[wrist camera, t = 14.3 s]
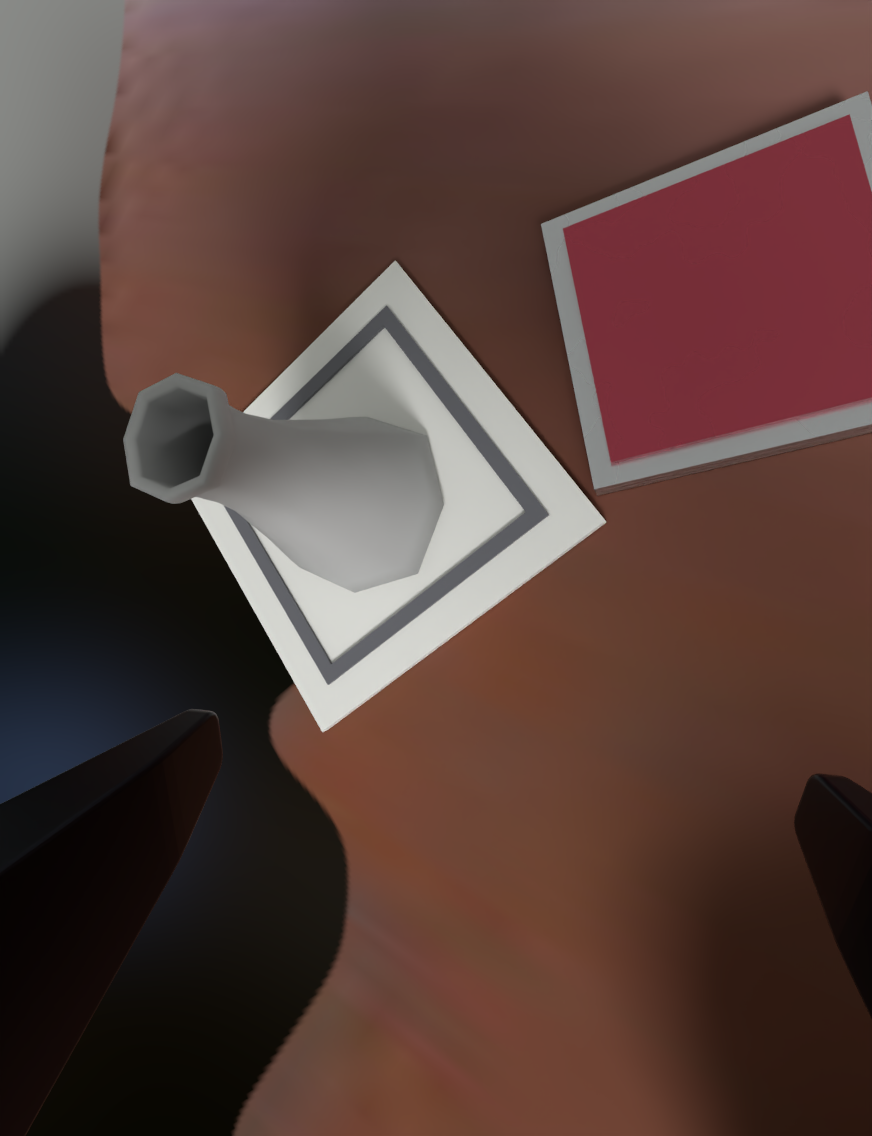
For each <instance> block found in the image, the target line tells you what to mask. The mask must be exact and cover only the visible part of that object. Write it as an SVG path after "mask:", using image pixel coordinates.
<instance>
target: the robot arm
mask: <svg viewBox="0 0 872 1136" xmlns="http://www.w3.org/2000/svg"><path fill="white" fill-rule="evenodd" d="M222 756H223V754H222V744H221V737H220V728H219V721H218V717H217V715H216V714H215V713H214V712H212V711H204V710H195V709H191V710H188V711H185V712H183V713H181V714H179V715H177V716H175V717H173V718H171V719H169V720H167V721H165V722H163V723H161V724H159V725H157V726H155V727H153V728H151V729H149V730H147V731H145V732H143V733H141V734H139V735H137V736H135V737H133V738H131V739H129V740H127V741H125V742H123V743H122V744H119V745H117V746H116V747H113V748H111V749H109V750H107V751H106V752H103V753H102V754H99V755H97V756H95V757H93V758H91V759H89V760H87V761H85V762H83V763H81V764H79V765H78V766H75V767H73V768H72V769H69V770H68V771H65V772H63V773H61V774H59V775H57V776H56V777H53V778H51V779H50V780H47V781H45V782H43V783H42V784H40V785H38V786H36V787H34V788H32V789H30V790H28V791H26V792H24V793H22V794H20V795H18V796H16V797H14V798H12V799H10V800H8V801H6V802H4V803H2V804H0V1136H25V1135H26V1133H27V1132H28V1130H29V1128H30V1126H31V1124H32V1123H33V1121H34V1119H35V1117H36V1115H37V1114H38V1112H39V1110H40V1108H41V1107H42V1105H43V1103H44V1101H45V1100H46V1098H47V1096H48V1094H49V1092H50V1091H51V1089H52V1087H53V1085H54V1083H55V1082H56V1080H57V1078H58V1076H59V1075H60V1073H61V1071H62V1069H63V1067H64V1066H65V1064H66V1062H67V1060H68V1059H69V1057H70V1055H71V1053H72V1051H73V1050H74V1048H75V1046H76V1044H77V1043H78V1041H79V1039H80V1037H81V1035H82V1033H83V1032H84V1030H85V1028H86V1027H87V1025H88V1023H89V1021H90V1019H91V1017H92V1016H93V1014H94V1012H95V1011H96V1009H97V1007H98V1005H99V1003H100V1002H101V1000H102V998H103V996H104V994H105V993H106V991H107V989H108V987H109V985H110V984H111V982H112V980H113V978H114V977H115V975H116V973H117V971H118V970H119V968H120V966H121V964H122V962H123V961H124V959H125V957H126V955H127V953H128V952H129V950H130V948H131V946H132V944H133V943H134V941H135V939H136V937H137V935H138V934H139V932H140V930H141V929H142V927H143V925H144V923H145V921H146V920H147V918H148V916H149V914H150V912H151V911H152V909H153V907H154V905H155V904H156V902H157V900H158V898H159V897H160V895H161V893H162V891H163V889H164V888H165V886H166V884H167V882H168V881H169V879H170V877H171V875H172V873H173V871H174V870H175V867H176V866H177V864H178V862H179V860H180V858H181V856H182V854H183V852H184V850H185V847H186V845H187V843H188V841H189V839H190V836H191V834H192V831H193V829H194V827H195V825H196V822H197V820H198V818H199V815H200V813H201V811H202V809H203V806H204V804H205V802H206V800H207V797H208V795H209V793H210V790H211V788H212V786H213V784H214V781H215V779H216V777H217V774H218V772H219V770H220V767H221V763H222ZM794 824H795V831H796V835H797V838H798V841H799V843H800V846H801V849H802V852H803V854H804V857H805V860H806V863H807V865H808V868H809V871H810V874H811V876H812V879H813V882H814V885H815V887H816V890H817V893H818V896H819V898H820V901H821V904H822V907H823V909H824V912H825V915H826V918H827V921H828V923H829V926H830V928H831V931H832V933H833V936H834V938H835V941H836V943H837V946H838V948H839V950H840V952H841V955H842V957H843V959H844V961H845V963H846V966H847V968H848V970H849V972H850V974H851V976H852V978H853V980H854V983H855V985H856V987H857V989H858V991H859V993H860V995H861V997H862V999H863V1002H864V1004H865V1006H866V1008H867V1010H868V1012H869V1014H870V1016H871V1018H872V793H871V792H869V791H867V790H866V789H864V788H863V787H861V786H860V785H858V784H856V783H855V782H853V781H852V780H850V779H848V778H846V777H843V776H838V775H828V774H814V775H812V776H811V777H810V778H809V779H808V781H807V784H806V786H805V789H804V792H803V795H802V797H801V800H800V803H799V806H798V809H797V811H796V814H795V820H794Z"/></svg>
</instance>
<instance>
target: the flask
mask: <svg viewBox="0 0 872 1136" xmlns="http://www.w3.org/2000/svg"><path fill="white" fill-rule="evenodd" d="M123 441H124V447H125V453H126V459H127V465H128V472H129V478H130V484H131V486H133V487H135V488H137V489H139V490H141V491H144V492H146V493H148V494H150V495H153V496H155V497H157V498H159V499H161V500H163V501H166V502H169V503H181V502H184V501H186V500H188V499H191V498H194V497H198V498H202V499H206V500H210V501H214V502H218V503H220V504H222V505H224V506H226V507H228V508H230V509H232V510H234V511H236V512H237V513H238V514H239V515H240V516H242V517H243V518H244V519H245V520H246V521H248V522H249V523H250V524H251V525H253V526H254V527H255V528H256V529H257V530H259V531H260V532H261V533H262V534H263V535H265V536H266V537H267V538H268V539H269V540H270V541H271V542H272V543H274V544H275V545H276V546H277V547H278V548H279V549H280V550H281V551H282V552H283V553H284V554H285V555H286V556H287V557H288V558H289V559H290V560H291V561H292V562H294V563H295V564H296V565H297V566H298V567H300V568H302V569H304V570H306V571H308V572H310V573H313V574H315V575H317V576H319V577H321V578H323V579H326V580H328V581H330V582H332V583H334V584H336V585H339V586H341V587H343V588H345V589H347V590H350V591H352V592H354V593H356V592H359V591H363V590H366V589H369V588H372V587H376V586H379V585H382V584H386V583H389V582H392V581H396V580H399V579H402V578H406V577H409V576H412V575H415V574H418V572H419V570H420V567H421V564H422V562H423V559H424V556H425V554H426V551H427V549H428V546H429V543H430V541H431V538H432V535H433V533H434V530H435V527H436V525H437V522H438V520H439V517H440V514H441V512H442V509H443V506H444V502H443V498H442V494H441V490H440V486H439V482H438V478H437V474H436V470H435V466H434V462H433V458H432V454H431V450H430V446H429V442H428V438H427V436H426V435H423V434H420V433H417V432H414V431H411V430H407V429H404V428H401V427H398V426H395V425H392V424H389V423H385V422H382V421H379V420H376V419H373V418H370V417H347V418H334V419H317V420H272V419H268V418H263V417H259V416H254V415H250V414H245V413H243V412H241V411H239V410H236V409H234V408H233V407H231V406H230V405H229V404H228V399H227V395H226V393H225V392H224V391H223V390H222V389H221V388H219V387H216V386H214V385H211V384H208V383H205V382H202V381H199V380H196V379H193V378H190V377H187V376H184V375H181V374H178V373H175V374H173V375H171V376H169V377H168V378H166V379H164V380H162V381H160V382H158V383H156V384H154V385H152V386H150V387H148V388H146V389H144V390H142V391H140V392H139V394H138V397H137V400H136V403H135V406H134V409H133V412H132V415H131V418H130V421H129V424H128V427H127V430H126V433H125V436H124V439H123Z"/></svg>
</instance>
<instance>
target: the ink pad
mask: <svg viewBox="0 0 872 1136" xmlns="http://www.w3.org/2000/svg"><path fill="white" fill-rule="evenodd" d="M541 227H542V232H543V237H544V242H545V247H546V252H547V256H548V261H549V266H550V271H551V276H552V281H553V286H554V291H555V296H556V301H557V306H558V311H559V316H560V321H561V326H562V331H563V336H564V341H565V346H566V351H567V356H568V361H569V366H570V371H571V376H572V381H573V386H574V391H575V396H576V401H577V406H578V411H579V416H580V421H581V426H582V431H583V436H584V441H585V446H586V451H587V456H588V461H589V466H590V471H591V476H592V481H593V486H594V490H595V492H596V494H597V496H599V495H603V494H607V493H612V492H616V491H620V490H625V489H629V488H633V487H638V486H642V485H646V484H651V483H655V482H659V481H664V480H668V479H672V478H677V477H681V476H685V475H690V474H694V473H698V472H703V471H707V470H711V469H716V468H720V467H724V466H729V465H733V464H737V463H742V462H746V461H750V460H755V459H759V458H763V457H768V456H772V455H776V454H781V453H785V452H789V451H794V450H798V449H802V448H807V447H811V446H815V445H820V444H824V443H828V442H833V441H837V440H841V439H846V438H850V437H854V436H859V435H863V434H867V433H872V104H871V101H870V98H869V94H868V91H867V92H865V93H862V94H860V95H857V96H855V97H852V98H850V99H847V100H845V101H842V102H840V103H838V104H835V105H833V106H830V107H828V108H825V109H823V110H820V111H818V112H815V113H813V114H810V115H808V116H806V117H803V118H801V119H798V120H796V121H793V122H791V123H788V124H786V125H783V126H781V127H778V128H776V129H774V130H771V131H769V132H766V133H764V134H761V135H759V136H756V137H754V138H751V139H749V140H746V141H744V142H742V143H739V144H737V145H734V146H732V147H729V148H727V149H724V150H722V151H719V152H717V153H714V154H712V155H710V156H707V157H705V158H702V159H700V160H697V161H695V162H692V163H690V164H687V165H685V166H682V167H680V168H678V169H675V170H673V171H670V172H668V173H665V174H663V175H660V176H658V177H655V178H653V179H650V180H648V181H646V182H643V183H641V184H638V185H636V186H633V187H631V188H628V189H626V190H623V191H621V192H618V193H616V194H614V195H611V196H609V197H606V198H604V199H601V200H599V201H596V202H594V203H591V204H589V205H586V206H584V207H582V208H579V209H577V210H574V211H572V212H569V213H567V214H564V215H562V216H559V217H557V218H554V219H552V220H550V221H547V222H545V223H542V224H541Z"/></svg>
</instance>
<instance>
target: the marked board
mask: <svg viewBox="0 0 872 1136" xmlns="http://www.w3.org/2000/svg"><path fill="white" fill-rule="evenodd" d="M243 413H245V414H250V415H254V416H259V417H263V418H268V419H272V420H317V419H334V418H347V417H370V418H373V419H376V420H379V421H382V422H385V423H389V424H392V425H395V426H398V427H401V428H404V429H407V430H411V431H414V432H417V433H420V434H423V435H426V436H427V438H428V442H429V446H430V450H431V454H432V458H433V462H434V466H435V470H436V474H437V478H438V482H439V486H440V490H441V494H442V498H443V502H444V506H443V509H442V512H441V514H440V517H439V520H438V522H437V525H436V527H435V530H434V533H433V535H432V538H431V541H430V543H429V546H428V549H427V551H426V554H425V556H424V559H423V562H422V564H421V567H420V570H419V572H418V574H415V575H412V576H409V577H406V578H402V579H399V580H396V581H392V582H389V583H386V584H382V585H379V586H376V587H372V588H369V589H366V590H363V591H359V592H356V593H354V592H352V591H350V590H347V589H345V588H343V587H341V586H339V585H336V584H334V583H332V582H330V581H328V580H326V579H323V578H321V577H319V576H317V575H315V574H313V573H310V572H308V571H306V570H304V569H302V568H300V567H298V566H297V565H296V564H295V563H294V562H292V561H291V560H290V559H289V558H288V557H287V556H286V555H285V554H284V553H283V552H282V551H281V550H280V549H279V548H278V547H277V546H276V545H275V544H274V543H272V542H271V541H270V540H269V539H268V538H267V537H266V536H265V535H263V534H262V533H261V532H260V531H259V530H257V529H256V528H255V527H254V526H253V525H251V524H250V523H249V522H248V521H246V520H245V519H244V518H243V517H242V516H240V515H239V514H238V513H237V512H236V511H234V510H232V509H230V508H228V507H226V506H224V505H222V504H220V503H218V502H214V501H210V500H206V499H202V498H198V497H194V498H191V499H192V501H193V503H194V505H195V507H196V508H197V510H198V512H199V513H200V515H201V517H202V519H203V521H204V523H205V524H206V526H207V528H208V529H209V531H210V533H211V535H212V537H213V538H214V540H215V542H216V544H217V546H218V547H219V549H220V551H221V553H222V554H223V556H224V558H225V560H226V561H227V563H228V565H229V567H230V569H231V570H232V572H233V574H234V576H235V578H236V579H237V581H238V583H239V585H240V587H241V588H242V590H243V592H244V594H245V595H246V597H247V599H248V601H249V603H250V604H251V606H252V608H253V610H254V611H255V613H256V615H257V617H258V619H259V620H260V622H261V624H262V626H263V627H264V629H265V631H266V633H267V634H268V636H269V638H270V640H271V642H272V643H273V645H274V647H275V649H276V651H277V652H278V654H279V656H280V658H281V659H282V661H283V663H284V665H285V667H286V668H287V670H288V672H289V674H290V675H291V677H292V679H293V681H294V683H295V684H296V686H297V688H298V690H299V691H300V693H301V695H302V697H303V699H304V700H305V702H306V704H307V706H308V707H309V709H310V711H311V713H312V715H313V716H314V718H315V720H316V722H317V723H318V725H319V727H320V729H321V731H322V732H324V731H326V730H328V729H330V728H331V727H332V726H334V725H335V724H336V723H338V722H339V721H340V720H342V719H343V718H344V717H346V716H347V715H348V714H350V713H351V712H352V711H354V710H355V709H356V708H358V707H359V706H361V705H362V704H363V703H365V702H366V701H367V700H369V699H370V698H371V697H373V696H374V695H375V694H377V693H378V692H379V691H381V690H382V689H383V688H385V687H386V686H387V685H389V684H390V683H391V682H393V681H394V680H395V679H397V678H398V677H400V676H401V675H402V674H404V673H405V672H406V671H408V670H409V669H410V668H412V667H413V666H414V665H416V664H417V663H418V662H420V661H421V660H422V659H424V658H425V657H426V656H428V655H429V654H430V653H432V652H433V651H434V650H436V649H437V648H438V647H440V646H441V645H443V644H444V643H445V642H447V641H448V640H449V639H451V638H452V637H453V636H455V635H456V634H457V633H459V632H460V631H461V630H463V629H464V628H465V627H467V626H468V625H469V624H471V623H472V622H473V621H475V620H476V619H477V618H479V617H480V616H482V615H483V614H484V613H486V612H487V611H488V610H490V609H491V608H492V607H494V606H495V605H496V604H498V603H499V602H500V601H502V600H503V599H504V598H506V597H507V596H508V595H510V594H511V593H512V592H514V591H515V590H516V589H518V588H519V587H521V586H522V585H523V584H525V583H526V582H527V581H529V580H530V579H531V578H533V577H534V576H535V575H537V574H538V573H539V572H541V571H542V570H543V569H545V568H546V567H547V566H549V565H550V564H551V563H553V562H554V561H555V560H557V559H558V558H560V557H561V556H562V555H564V554H565V553H566V552H568V551H569V550H570V549H572V548H573V547H574V546H576V545H577V544H578V543H580V542H581V541H582V540H584V539H585V538H586V537H588V536H589V535H590V534H592V533H593V532H594V531H596V530H597V529H598V528H600V527H601V526H603V525H604V524H605V523H607V522H606V521H605V519H604V518H603V517H602V516H601V514H600V513H599V512H598V511H597V510H596V508H595V507H594V506H593V505H592V503H591V502H590V501H589V500H588V498H587V497H586V496H585V495H584V493H583V492H582V491H581V490H580V488H579V487H578V486H577V485H576V483H575V482H574V481H573V480H572V479H571V477H570V476H569V475H568V474H567V472H566V471H565V470H564V469H563V467H562V466H561V465H560V464H559V462H558V461H557V460H556V459H555V457H554V456H553V455H552V454H551V452H550V451H549V450H548V449H547V448H546V446H545V445H544V444H543V443H542V441H541V440H540V439H539V438H538V436H537V435H536V434H535V433H534V431H533V430H532V429H531V428H530V426H529V425H528V424H527V423H526V422H525V420H524V419H523V418H522V417H521V415H520V414H519V413H518V412H517V410H516V409H515V408H514V407H513V405H512V404H511V403H510V402H509V400H508V399H507V398H506V397H505V395H504V394H503V393H502V392H501V391H500V389H499V388H498V387H497V386H496V384H495V383H494V382H493V381H492V379H491V378H490V377H489V376H488V374H487V373H486V372H485V371H484V369H483V368H482V367H481V366H480V364H479V363H478V362H477V361H476V360H475V358H474V357H473V356H472V355H471V353H470V352H469V351H468V350H467V348H466V347H465V346H464V345H463V343H462V342H461V341H460V340H459V338H458V337H457V336H456V335H455V334H454V332H453V331H452V330H451V329H450V327H449V326H448V325H447V324H446V322H445V321H444V320H443V319H442V317H441V316H440V315H439V314H438V312H437V311H436V310H435V309H434V307H433V306H432V305H431V304H430V303H429V301H428V300H427V299H426V298H425V296H424V295H423V294H422V293H421V291H420V290H419V289H418V288H417V286H416V285H415V284H414V283H413V281H412V280H411V279H410V278H409V276H408V275H407V274H406V273H405V272H404V270H403V269H402V268H401V267H400V265H399V264H398V263H397V262H396V260H395V261H394V262H393V263H392V264H391V265H390V266H389V267H388V268H387V269H386V270H385V271H384V272H383V273H382V274H381V275H380V276H379V277H378V278H377V279H376V280H375V281H374V282H373V283H372V284H371V285H370V286H369V287H368V288H367V289H366V290H365V291H364V292H363V293H362V294H361V295H360V296H359V297H358V298H357V299H356V300H355V301H354V302H353V303H352V304H351V305H350V306H349V307H348V308H347V309H346V310H345V311H344V312H343V313H342V314H341V315H340V316H339V317H338V318H337V319H336V320H335V321H334V322H333V323H332V324H331V325H330V326H329V327H328V328H327V329H326V330H325V331H324V332H323V333H322V334H321V335H320V336H319V337H318V338H317V339H316V340H315V341H314V342H313V343H312V344H311V345H310V346H309V347H308V348H307V349H306V350H305V351H304V352H303V353H302V354H301V355H300V356H299V357H298V358H297V359H296V360H295V361H294V362H293V363H292V364H291V365H290V366H289V367H288V368H287V369H286V370H285V371H284V372H283V373H282V374H281V375H280V376H279V377H278V378H277V379H276V380H275V381H274V382H273V383H272V384H271V385H270V386H269V387H268V388H267V389H266V390H265V391H264V392H263V393H262V394H261V395H260V396H259V397H258V398H257V399H256V400H255V401H254V402H253V403H252V404H251V405H250V406H249V407H248V408H247V409H246V410H245V411H244V412H243Z"/></svg>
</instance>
